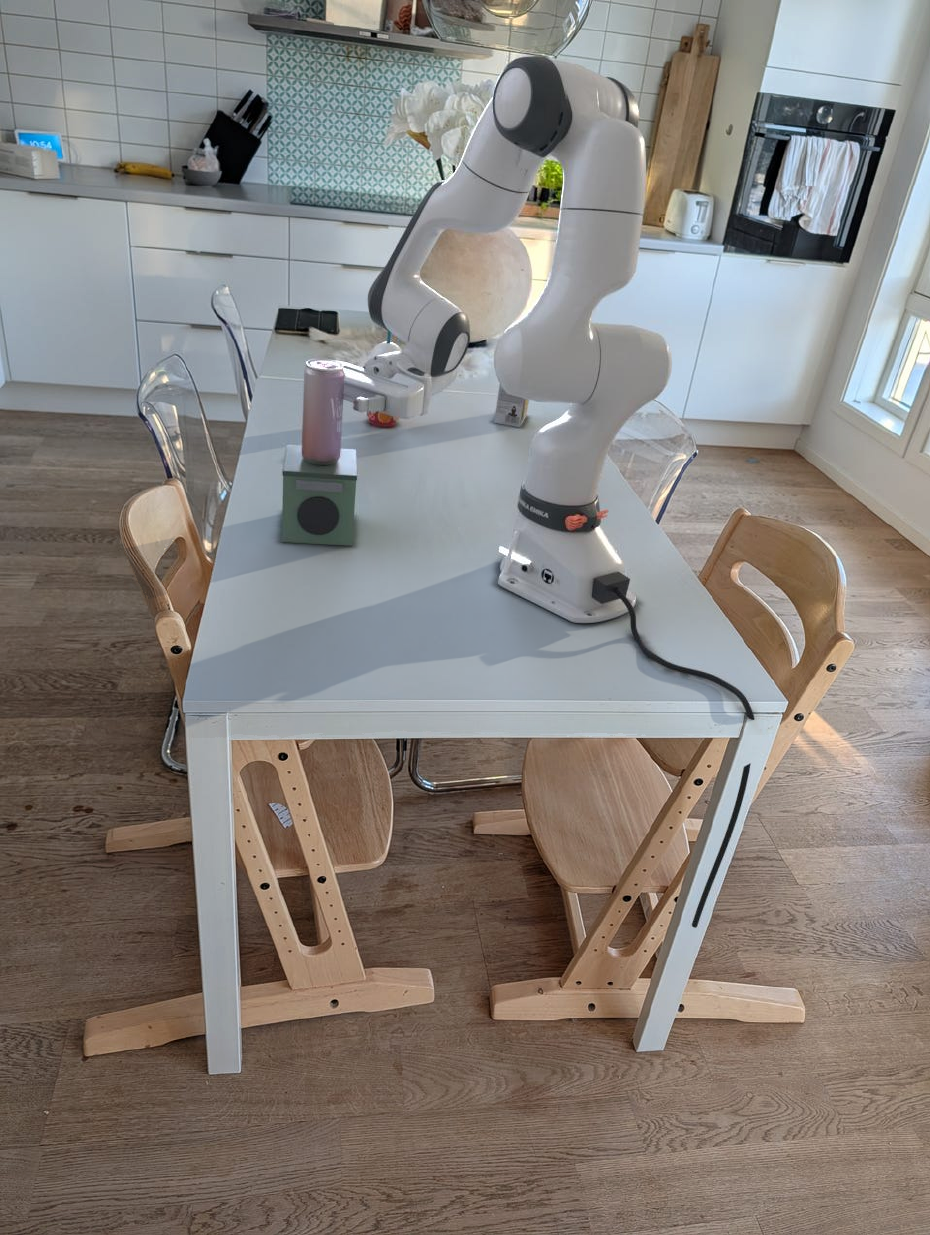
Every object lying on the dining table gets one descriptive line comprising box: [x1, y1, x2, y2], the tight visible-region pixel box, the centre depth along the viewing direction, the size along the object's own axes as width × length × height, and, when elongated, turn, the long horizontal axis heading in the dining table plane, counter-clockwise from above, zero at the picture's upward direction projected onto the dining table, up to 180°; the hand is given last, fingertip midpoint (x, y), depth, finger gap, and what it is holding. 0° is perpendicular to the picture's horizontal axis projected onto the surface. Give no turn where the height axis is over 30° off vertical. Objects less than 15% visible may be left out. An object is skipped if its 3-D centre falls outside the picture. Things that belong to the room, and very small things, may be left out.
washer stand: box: [281, 444, 358, 547], centre depth 146 cm, size 12×11×12 cm
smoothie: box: [366, 331, 403, 428], centre depth 192 cm, size 8×8×20 cm
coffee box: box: [493, 383, 530, 428], centre depth 205 cm, size 9×6×16 cm
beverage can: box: [301, 358, 345, 465], centre depth 139 cm, size 6×6×15 cm
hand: (332, 397), depth 140 cm, fingers open, 8 cm apart
